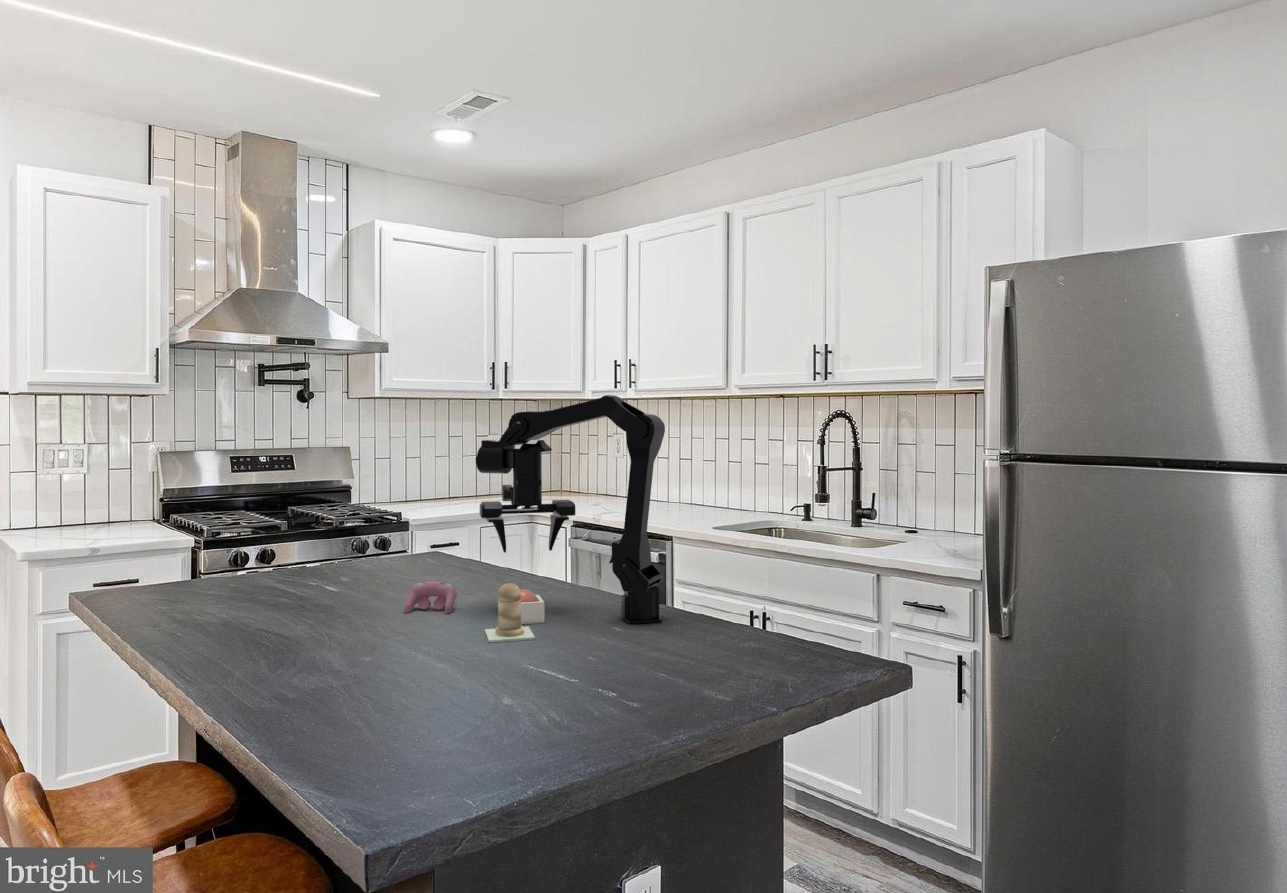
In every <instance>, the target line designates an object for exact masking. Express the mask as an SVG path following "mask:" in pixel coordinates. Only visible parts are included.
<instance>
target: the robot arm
mask: <svg viewBox="0 0 1287 893" xmlns="http://www.w3.org/2000/svg"><path fill="white" fill-rule="evenodd" d="M602 418H607V419H608V420H610V421H611V422H613V424H614V425H615V426H616V427H618V428H620V429H621V430H622V431H623V432H625V434H626V435H625V437H626V438H625V439H626V447H627V451H628V455H629V458H630V466H629V474H628V475H629V476H628V483H627V484H628V485H627V486H628V487H627V495H626V506H625V514H624V527H623V533H622V535H621V538H620V539H618V540H615V541H612V542H611V557H610V560H609V562H608V563H609V564H612V565H611V568H612V573H613V574H614V575H615V576H616V578H617V579H618V580H619V583H620V586H621V589H622V591H623V594H622V595H621V596H620V597H621V600H620V601H621V604H620V605H621V608H620V609H621V617H622V619H624V620H625V621H626V622H627V623H628V624H642V623H643V624H644V623H645V624H646V623H658V622H659V623H660V622H663V618H662V617H661V616H660V588H659V587H658V586H659V585H660V584H661V581H662V579H663V577H664V575H663V574H662V572H661V571H660V570H659V569H658V567H656V565H654V564H653V562H652V554H651V553H652V552H651V551H652V550H651V545H650V540H649V538H648V532H647V531H648V522H649V516H650V515H649V514H650V513H649V512H650V502H651V495H652V494H651V493H652V485H653V476H654V474H653V473H654V464H655V461H656V459H657V456H658V454H659V451H660V449H661V447H662V444H663V440H664V437H665V431H666V425H665V423H664V421H663V420H662V419H661V418H660V417H659V416H658V415H655V414H649V413H645V412H644V411H642V410H641V409H638V408H637V407H636V406H633V405H631V404H630V403H627V402H626V401H625V400H623V399H622V398H621V397H619V396H617V395H612V394H607V395H602V396H601V397H599V398H595V399H591V400H586V401H582V402H579V403H576V404H575V403H574V404H571V405H568V406H563V407H559V408H555V409H551V410H536V411H535V410H534V411H532V410H531V411H518V412H515V413H514V414H512V415H511V417H510V419H509V421H508V427H507V428H506V429H505V431H504V433H502V436H501V437H500V439H499V440H498V441H497V440H491V439H486V440H485V439H482V440H481V446H480V447H479V448H478V451H477V454H476V456H475V465H476V468H477V470H478V472H480V473H481V474H502V475H503V474H506V475H507V474H510V472H511V471H512V484H503V485H502V487H501V494H502V495H501V496H502V502H510V503H511V504H502V502H501V501H499V500H498V501H497V500H496V501H493V500H492V501H482V502H480V504H479V516H480V517H481V519H486V521H487V523H492V524H493V526H494V528H495V531H496V533H497V536H498V539H499V542H500V544H501V545H500V546H501V547H502V548H501V549H502V551H503V553H507V539H506V530H505V522H504V518H502V515H504V514H505V515H508V514H509V515H510V514H513V515H514V514H538V513H539V514H543V513H544V514H545V513H546V514H547V513H552V514H550V516H549V517H550V527H549V536H548V551H549V552H551V551H553V547H554V545H555V543H556V539H557V538H558V534H559V532H560V530H561V528H562V526H563V524H564V522H565V521H569V520H570V517H571V516H576V504H575V502H573V501H572V500H570V499H552V500H551V503H542V502H543V501H542V500H543V497H542V496H543V495H542V494H543V493H542V492H543V491H542V488H543V487H542V486H543V484H542V482H543V480H542V479H543V477H542V473H543V472H542V469H543V468H542V467H543V466H542V465H543V464H542V460H543V459H542V458H543V457H542V454H543V453H548V452H552V450H553V449H552V447H551V446H550V445H548V444H547V443H546V441H545V440H544V439H542V438H545V437H546V436H548V435H550V434H553V433H554V432H556V431H557V430H560V429H562V428H565V427H571V426H573V425H578V424H582V423H586V422H590V421H594V420H599V419H602ZM530 441H536V442H535V443H529V442H530ZM520 445H521V446H520ZM515 446H520V447H519V448H515ZM520 507H521V508H520Z"/></svg>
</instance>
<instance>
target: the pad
mask: <svg viewBox="0 0 1287 893" xmlns="http://www.w3.org/2000/svg"><path fill="white" fill-rule="evenodd" d="M523 627H524V633H523V634H522V635H519V636H513V637H502V636H498V635H496V634H495V628H486V629H484V633H485V636H486V637H487V641H488V643H502V642H505V643H506V642H518V641H530V640H532V641H533V640H536V637H535V635H534V633H533V631H532V630H531V628H530V626H523Z"/></svg>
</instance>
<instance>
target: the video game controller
mask: <svg viewBox="0 0 1287 893" xmlns="http://www.w3.org/2000/svg"><path fill="white" fill-rule="evenodd" d="M457 594H458V592H457V590H456V588H455V587H454V586H452V585H451V584H449V583H445V582H442V581H434V580H433V581H432V580H431V581H428V580H427V581H426V582H420V583H419V582H416V583H415V585H414V586H412V587H411V588H410V590H409V592H408V595H407V597H406V600H405V602H404V607H403V608H404V612H405V613H406V614H409V613H410V612H411V611H412V610H413V609H414V608H415V605H416V604H417V605H418V607H419V608H420V609H421V610H423V611H428V610H429V609H430V608H431V607H432V602H431V600H430V597H437V598H435V600H434V602H433V607H434V608H435V609H436V610H437V611H443V610H444V612H445V613H446V614H448V615H449V614H451V613H452V611H453V609H454V605H455V602H456V599H457V596H458V595H457Z"/></svg>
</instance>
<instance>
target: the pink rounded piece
mask: <svg viewBox="0 0 1287 893" xmlns="http://www.w3.org/2000/svg"><path fill="white" fill-rule="evenodd" d="M520 592H521V596H520V599H521V603H523V602H536V598H535V596H534V595H535V594H534V593H533V592H532V591H530V590H528V589H524V588H523V589H520Z"/></svg>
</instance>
